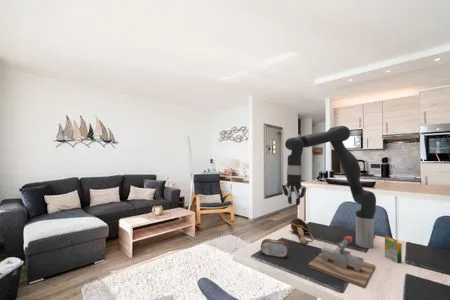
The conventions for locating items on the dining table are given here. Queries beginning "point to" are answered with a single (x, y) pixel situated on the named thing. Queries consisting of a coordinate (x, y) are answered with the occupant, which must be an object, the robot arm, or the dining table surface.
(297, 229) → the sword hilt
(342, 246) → the lever
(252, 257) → the dining table surface
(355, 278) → the walnut board
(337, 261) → the steel pipe and valve
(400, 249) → the crayon box
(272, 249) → the tin
